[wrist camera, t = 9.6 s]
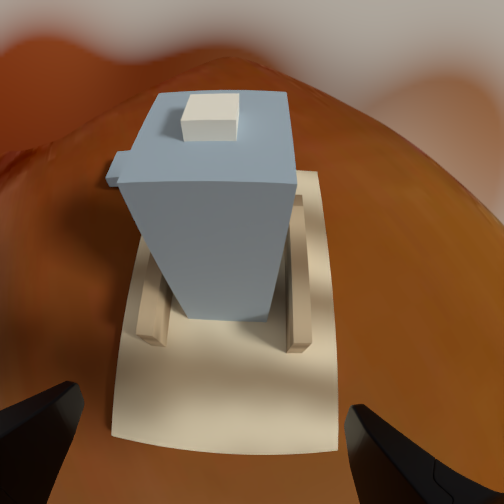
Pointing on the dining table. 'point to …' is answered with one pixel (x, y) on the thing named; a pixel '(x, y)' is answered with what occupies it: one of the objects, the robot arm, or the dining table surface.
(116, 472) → the dining table surface
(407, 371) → the dining table surface
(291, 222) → the jig
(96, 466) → the dining table surface
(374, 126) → the dining table surface
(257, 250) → the blue-grey rectangular block
